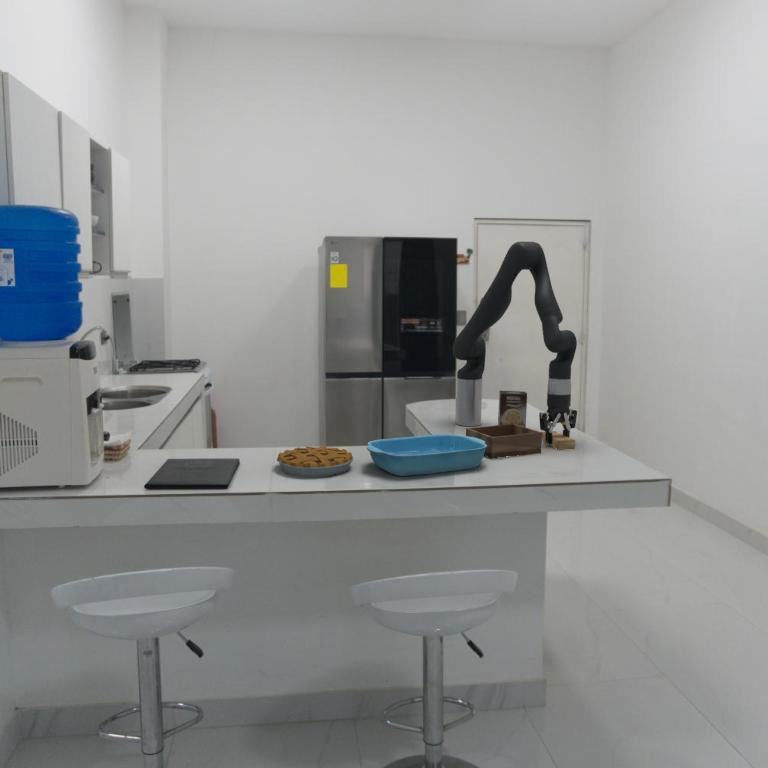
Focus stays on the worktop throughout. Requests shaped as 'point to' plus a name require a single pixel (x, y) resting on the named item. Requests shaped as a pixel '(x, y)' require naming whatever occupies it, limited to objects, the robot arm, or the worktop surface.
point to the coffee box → (512, 408)
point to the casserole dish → (427, 454)
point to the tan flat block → (560, 441)
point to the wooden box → (507, 440)
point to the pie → (315, 461)
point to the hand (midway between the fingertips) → (557, 442)
